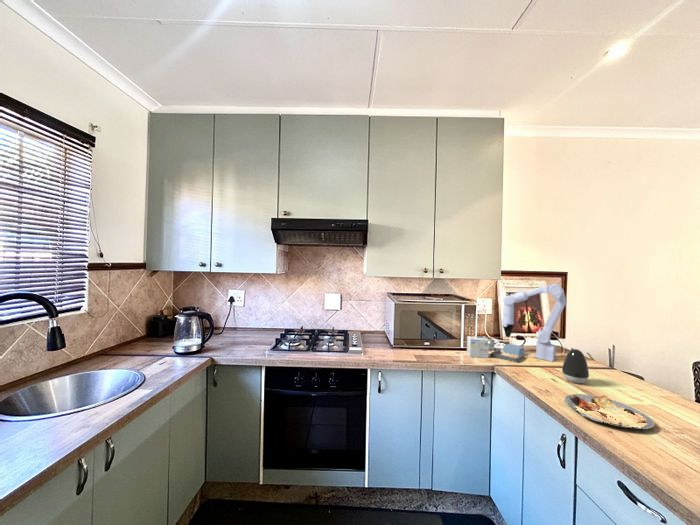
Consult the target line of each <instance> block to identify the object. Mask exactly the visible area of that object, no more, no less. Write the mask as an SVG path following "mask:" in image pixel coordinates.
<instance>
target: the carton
mask: <svg viewBox="0 0 700 525" xmlns="http://www.w3.org/2000/svg"><path fill="white" fill-rule="evenodd" d="M503 352H505V353H504V354H507V353H509V354H508V355H511V354H513V355H512V356H515V355H517V356H516V357H519V356H520V355H521V354H524V355H525V346H521V345H517V344H512V343H507V344H504V345H503V349H502V353H503Z"/></svg>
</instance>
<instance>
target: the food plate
mask: <svg viewBox="0 0 700 525" xmlns="http://www.w3.org/2000/svg"><path fill="white" fill-rule="evenodd" d="M564 402H565V403H566V404H567V405H569V406H570V407H571V409H574V410H575V412H577V410H576V409H577V408H576V407H574V406H578V407H580V408H582V409H584V410H585V411H596V410H599V409H600V407H601V408H603V409H605V410H607V411H609V412H612V411H615V412H616V411H617V412H620V411H623V410H621V409H620V408H619V407H622V408H624V411H627V412H628V413H631V414H633V415H635V414H634V413H638V414H640V415H641V416H643V418H646V421H645V420H640V419H638V420H640V421H638V420H636V421H634V422H635V423H647V425H645V426H644V427H641V428H638V427H633V428H632V427H625V426H626V425H624V424H620V425H621V426H619V425H614V424H612V423H611V424H610V423H608V424H607V423H606V421H604V420H601V419H598V418H595V419H594V417H593V418H591V417H592V416H591V417H589V416H590V415H589V416H587V415H588V414H587V415H586V414H584V413H581V412H582V411H581V412H579V411H578V412H577V413H579V414H580V415H582V416H583V417H586V418H588V419H590V420H592V421H595V422H599V423H603V421H604V423H603V424H607V425H612V426H616V427H621V428H626V429H627V428H630V429H635V430H636V429H637V430H638V429H639V430H640V429H642V430H649V429H651V428H653V427H655V422H654V421H653V419H652V418H651V417H650V416H648V415H647V414H645V413H643V412H642V411H640V410H638V409H636V408H634V407H632V406H630V405H628V404H627V405H626V404H624V403H622V402H619V401H616V400H611V399H610V398H608V396H606V395H602V396H595V395H589V394H581V393H580V394H578V393H576V394H575V393H574V394H569V395H566V396H565V398H564ZM588 402H591V403H595V404H596V405H594V404H591V403H588ZM597 412H599V411H597ZM599 413H600V414H601V415H602V416H604V417H606V418H607V416H606V415H607V414H605V413H602V412H599ZM612 413H613V414H616V413H614V412H612ZM617 414H619V413H617ZM620 415H621V414H620ZM610 417H611V416H610ZM612 418H613V417H612ZM615 420H616V419H615ZM623 425H624V426H623Z"/></svg>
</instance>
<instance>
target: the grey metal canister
mask: <svg viewBox="0 0 700 525" xmlns="http://www.w3.org/2000/svg"><path fill="white" fill-rule="evenodd" d="M488 339H489V350H488V351H492V350H493V348H494V349H495V347H494V346H495V342H496V340H495V339H492V338H488ZM493 351H494V350H493Z"/></svg>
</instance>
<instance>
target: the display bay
mask: <svg viewBox="0 0 700 525" xmlns="http://www.w3.org/2000/svg"><path fill="white" fill-rule="evenodd" d="M500 353H501V348H500V349H499V348H497V349H496V350H493V351H492V352H491V353H490V357H491V358H495V359H499V358H500V359H499V360H503V359H504V361H508V360H509V361H508V362H512V361H513V362H512V363H516V362H517V364H518V363H520V362H521V361H522V360H523V358H524V359H525V353H524V354H521V355H520V356H516V357H512V356H507V355H503V354H500ZM519 361H520V362H519Z"/></svg>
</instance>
